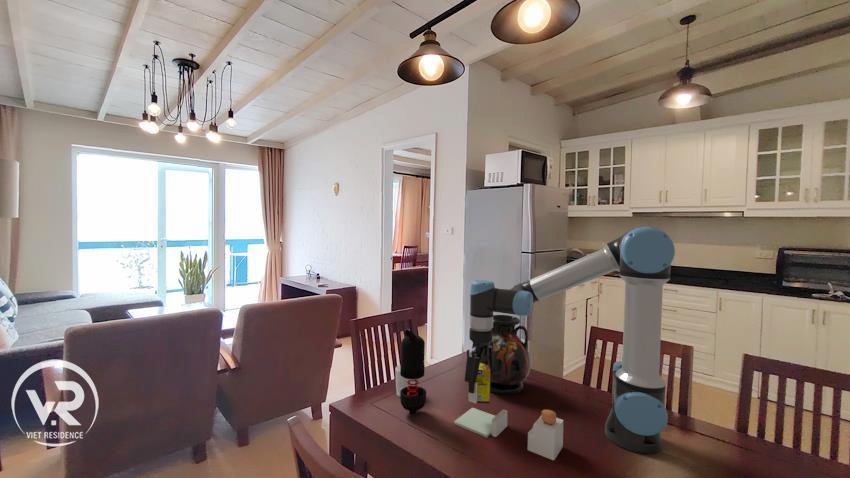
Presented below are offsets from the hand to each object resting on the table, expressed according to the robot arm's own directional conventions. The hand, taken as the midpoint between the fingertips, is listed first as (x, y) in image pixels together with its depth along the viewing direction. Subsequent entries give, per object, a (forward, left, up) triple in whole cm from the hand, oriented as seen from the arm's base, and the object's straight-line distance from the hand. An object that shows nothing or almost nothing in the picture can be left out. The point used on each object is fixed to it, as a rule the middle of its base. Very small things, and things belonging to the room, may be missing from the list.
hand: (479, 396), depth 116 cm
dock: (-16, 0, -9) cm, 18 cm away
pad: (0, 0, -9) cm, 9 cm away
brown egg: (-23, 0, -4) cm, 23 cm away
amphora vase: (+6, -30, -9) cm, 32 cm away
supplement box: (0, 0, -1) cm, 1 cm away
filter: (+21, +8, -9) cm, 24 cm away
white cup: (+32, 0, -9) cm, 33 cm away
